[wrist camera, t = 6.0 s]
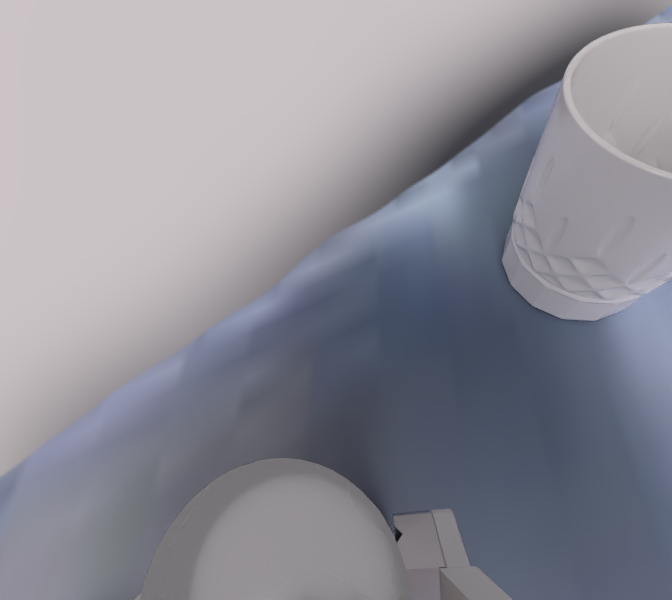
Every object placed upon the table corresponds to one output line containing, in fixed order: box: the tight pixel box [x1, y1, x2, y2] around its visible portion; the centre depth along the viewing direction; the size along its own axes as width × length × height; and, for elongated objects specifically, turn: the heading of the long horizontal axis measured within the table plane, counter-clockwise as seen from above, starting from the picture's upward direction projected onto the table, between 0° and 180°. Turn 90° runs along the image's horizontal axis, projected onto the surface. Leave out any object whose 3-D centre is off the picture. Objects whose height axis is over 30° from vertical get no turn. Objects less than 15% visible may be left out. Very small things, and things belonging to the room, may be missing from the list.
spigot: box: [140, 458, 412, 600], centre depth 11 cm, size 4×4×12 cm
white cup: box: [502, 23, 672, 321], centre depth 17 cm, size 8×8×10 cm
